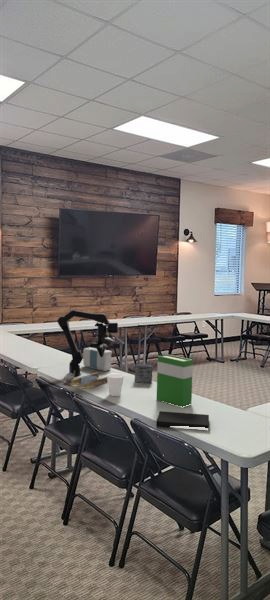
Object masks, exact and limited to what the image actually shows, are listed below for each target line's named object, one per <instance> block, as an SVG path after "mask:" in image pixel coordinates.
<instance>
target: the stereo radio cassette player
mask: <svg viewBox="0 0 270 600" xmlns="http://www.w3.org/2000/svg"><path fill="white" fill-rule="evenodd" d="M112 352H113V351H112V350H107V349H105V351H104V354H103V357H100V355H99V352H98V350H97V349H96V348H90V347H89V346H88V347H84V348H83V352H82V354H83V359H82V361H83V362H82V363H83V366H84V367H87V368H90V369H94V370H98V371H103V372H105V371H110V370H111V369H112V354H113V353H112Z"/></svg>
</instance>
